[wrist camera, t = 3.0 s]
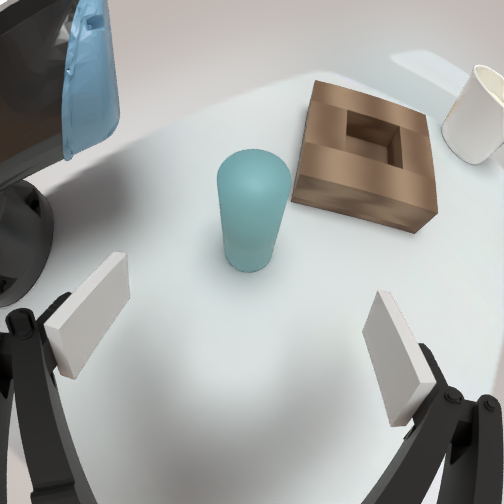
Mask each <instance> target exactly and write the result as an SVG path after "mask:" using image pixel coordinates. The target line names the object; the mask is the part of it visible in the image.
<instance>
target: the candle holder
mask: <svg viewBox="0 0 504 504" xmlns="http://www.w3.org/2000/svg"><path fill="white" fill-rule="evenodd" d="M442 134H443V137H444V139H445V141H446V143H447V145H448V146H449V147H450V149H451V150H452V151H453V152H454V153H455V154H456V155H457V156H458V157H459V158H461V159H462V160H464V161H465V162H467V163H470V164H473V165H478V164H481V163H482V162H484V161H485V160H486V159H487V158H488V157H489V156H491V155H492V154H493V153H494V152H495V151H496V150H497V149H498V148H499V147H500V146H501V145H502V144H504V77H502V76H501V75H500V74H499V73H497V72H496V71H494V70H492V69H491V68H489V67H487V66H484V65H475V66H474V68H473V71H472V73H471V75H470V77H469V79H468V80H467V82H466V84H465V86H464V88H463V89H462V91H461V93H460V95H459V97H458V98H457V100H456V102H455V104H454V105H453V107H452V109H451V111H450V112H449V114H448V116H447V118H446V119H445V121H444V123H443V125H442Z"/></svg>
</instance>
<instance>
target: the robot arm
mask: <svg viewBox="0 0 504 504" xmlns="http://www.w3.org/2000/svg"><path fill="white" fill-rule="evenodd" d="M119 117H120V109H119V97H118V88H117V79H116V71H115V62H114V54H113V46H112V35H111V27H110V17H109V9H108V3H107V0H0V307H4V306H7V305H10V304H12V303H14V302H16V301H17V300H19V299H20V298H21V297H22V296H23V295H24V294H26V293H27V291H28V290H29V289H30V288H31V287H32V286H33V284H34V283H35V281H36V280H37V278H38V277H39V275H40V273H41V271H42V269H43V267H44V265H45V263H46V260H47V257H48V254H49V251H50V247H51V243H52V237H53V216H52V211H51V208H50V205H49V203H48V201H47V199H46V198H45V197H44V196H43V195H42V194H41V192H40V191H39V190H37V188H36V187H35V186H34V185H32V184H31V183H29V182H27V181H25V180H22V179H24V178H26V177H28V176H30V175H32V174H34V173H36V172H38V171H40V170H42V169H44V168H46V167H48V166H50V165H52V164H54V163H56V162H58V161H61V160H63V159H65V160H66V161H69V160H70V159H72V157H73V155H74V154H77V153H79V152H81V151H83V150H85V149H87V148H89V147H91V146H93V145H96V144H98V143H100V142H102V141H104V140H106V139H107V138H108V137H110V136H111V135H112V134H113V132H114V131H115V129H116V127H117V125H118V122H119ZM129 299H130V291H129V277H128V260H127V253H121V252H115V251H114V252H113V253H112V254H111V255H110V256H109V257H108V258H107V259H106V260H105V261H104V262H103V263H102V264H101V265H100V266H99V267H98V268H97V269H96V270H95V271H94V272H93V273H92V274H91V275H90V276H89V277H88V278H87V279H86V280H85V281H84V282H83V283H82V284H81V285H80V286H79V287H78V288H77V289H76V290H75V291H74V292H73V293H70V292H67V293H65V294H63V295H61V296H59V297H58V298H57V299H56V300H55V301H54V302H53V304H51V305H50V306H49V307H48V309H46V310H45V312H44V313H43V314H42V315H41V316H40V317H39V318H38V319H37V320H36V321H35V317H34V314H33V312H32V311H31V310H30V309H27V308H19V309H16V310H13V311H12V312H10V313H9V314H8V315H7V316H6V319H5V322H6V324H7V327H8V330H9V333H2V332H0V504H7V487H6V485H7V484H6V483H7V482H6V481H7V476H6V473H7V450H8V436H9V426H10V417H11V409H12V401H13V395H14V393H15V402H16V409H17V416H18V423H19V428H20V434H21V439H22V444H23V449H24V454H25V458H26V462H27V466H28V470H29V474H30V478H31V481H32V485H33V492H32V493H31V497H30V498H31V502H32V504H97V502H96V500H95V498H94V495H93V493H92V491H91V488H90V486H89V484H88V481H87V479H86V476H85V474H84V471H83V469H82V466H81V464H80V461H79V458H78V455H77V453H76V450H75V447H74V444H73V441H72V438H71V435H70V432H69V429H68V425H67V422H66V419H65V415H64V412H63V408H62V404H61V400H60V397H59V393H58V388H57V384H56V380H55V376H54V373H53V370H54V369H55V367H56V366H57V367H58V369H59V372H60V375H63V376H65V377H68V378H71V379H74V380H75V379H76V377H77V376H78V374H79V373H80V371H81V369H82V368H83V366H84V365H85V363H86V362H87V360H88V359H89V357H90V356H91V354H92V352H93V351H94V349H95V348H96V346H97V345H98V343H99V342H100V340H101V339H102V337H103V336H104V335H105V333H106V332H107V330H108V329H109V327H110V326H111V324H112V323H113V321H114V320H115V318H116V317H117V316H118V314H119V313H120V311H121V310H122V308H123V307H124V306H125V304H126V303H127V301H128V300H129ZM362 333H363V336H364V339H365V342H366V345H367V348H368V351H369V355H370V358H371V361H372V364H373V367H374V371H375V374H376V377H377V381H378V384H379V387H380V391H381V394H382V398H383V401H384V405H385V408H386V412H387V416H388V419H389V423H390V427H397V426H406V425H407V424H408V422H409V421H410V420H411V418H413V421H414V426H413V427H412V428H411V430H410V431H409V432H408V433H407V434H406V436H405V437H404V438H403V439H404V442H403V443H402V445H401V447H400V448H399V450H398V452H397V453H396V455H395V456H394V458H393V459H392V461H391V462H390V464H389V466H388V467H387V469H386V470H385V471H384V473H383V474H382V476H381V477H380V479H379V480H378V482H377V483H376V484H375V486H374V487H373V489H372V490H371V491H370V493H369V494H368V495H367V497H366V498H365V499H364V501H363V502H362V503H361V504H421V502H422V501H423V499H424V497H425V495H426V493H427V491H428V489H429V487H430V485H431V483H432V481H433V479H434V477H435V475H436V473H437V471H438V469H439V467H440V465H441V462H442V460H443V458H444V456H445V453H446V456H445V463H444V469H443V475H442V480H441V485H440V490H439V495H438V500H437V504H501V502H502V490H503V425H502V412H501V406H500V403H499V402H498V400H497V399H495V398H494V397H493V396H491V395H486V394H485V395H482V396H481V397H480V398H479V399H478V401H477V402H474V401H469V400H465V399H464V397H463V395H462V394H461V392H460V391H459V390H457V389H456V388H454V387H451V386H448V384H447V382H446V380H445V378H444V376H443V374H442V372H441V370H440V368H439V366H438V364H437V362H436V360H434V359H435V358H434V356H433V354H432V352H431V350H430V349H429V348H428V347H427V346H426V345H425V344H423V343H417V341H416V339H415V337H414V335H413V333H412V331H411V329H410V327H409V325H408V323H407V321H406V320H405V318H404V316H403V314H402V312H401V310H400V308H399V307H398V305H397V303H396V301H395V299H394V297H393V296H392V294H391V292H388V291H380V290H377V293H376V296H375V299H374V302H373V304H372V307H371V310H370V313H369V315H368V318H367V321H366V323H365V326H364V328H363V331H362Z"/></svg>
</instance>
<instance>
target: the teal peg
mask: <svg viewBox="0 0 504 504" xmlns="http://www.w3.org/2000/svg"><path fill="white" fill-rule="evenodd" d="M217 186H218V196H219V205H220V214H221V223H222V231H223V240H224V249H225V255H226V258H227V260H228V262H229V263H230V264H231V265H232V266H233V267H234V268H235V269H237V270H239V271H242V272H255V271H258V270H260V269H262V268H263V267H265V266H266V265H267V264H268V262H269V261H270V258H271V255H272V252H273V248H274V245H275V241H276V238H277V234H278V231H279V227H280V224H281V220H282V216H283V213H284V209H285V206H286V202H287V198H288V195H289V191H290V188H291V174H290V171H289V169H288V167H287V166H286V164H285V163H284V162H283V161H282V160H281V159H280V158H279V157H277V156H276V155H274V154H272V153H270V152H267V151H264V150H259V149H247V150H242V151H239V152H236V153H234V154H232V155H231V156H229V157H228V158H227V159H226V160H225V161H224V162H223V163H222V164H221V166H220V168H219V170H218V174H217Z"/></svg>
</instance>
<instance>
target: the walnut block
mask: <svg viewBox="0 0 504 504" xmlns="http://www.w3.org/2000/svg"><path fill="white" fill-rule="evenodd" d="M291 202H295V203H299V204H303V205H307V206H312V207H316V208H320V209H324V210H328V211H332V212H336V213H340V214H344V215H348V216H352V217H356V218H360V219H363V220H367V221H371V222H375V223H378V224H382V225H386V226H389V227H393V228H397V229H400V230H404V231H407V232H411V233H414V234H415V233H416V232H417V231H418V230H420V229H421V228H422V227H423V226H424V225H425V224H426V223H428V222H429V221H430V220H431V219H432V218H433V217H434V216H435V215H437V214H438V206H437V194H436V183H435V174H434V165H433V158H432V151H431V144H430V138H429V132H428V126H427V121H426V116H425V114H422V113H419V112H417V111H414V110H412V109H409V108H406V107H404V106H401V105H398V104H395V103H392V102H389V101H387V100H384V99H381V98H378V97H374V96H371V95H368V94H365V93H362V92H358V91H355V90H351V89H348V88H344V87H341V86H337V85H333V84H329V83H325V82H321V81H317V80H315V83H314V87H313V91H312V95H311V99H310V103H309V107H308V112H307V118H306V124H305V129H304V135H303V140H302V146H301V151H300V157H299V162H298V168H297V173H296V178H295V184H294V189H293V194H292V199H291Z"/></svg>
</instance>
